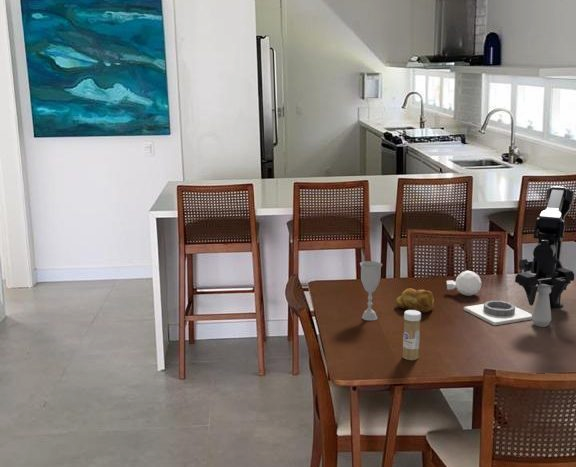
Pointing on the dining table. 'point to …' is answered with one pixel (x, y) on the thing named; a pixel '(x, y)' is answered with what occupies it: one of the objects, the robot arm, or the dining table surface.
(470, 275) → the perfume bottle
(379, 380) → the dining table surface
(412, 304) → the bread roll
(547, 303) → the salt shaker
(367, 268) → the chalice
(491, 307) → the ring holder
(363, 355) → the dining table surface
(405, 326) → the sprinkles bottle
